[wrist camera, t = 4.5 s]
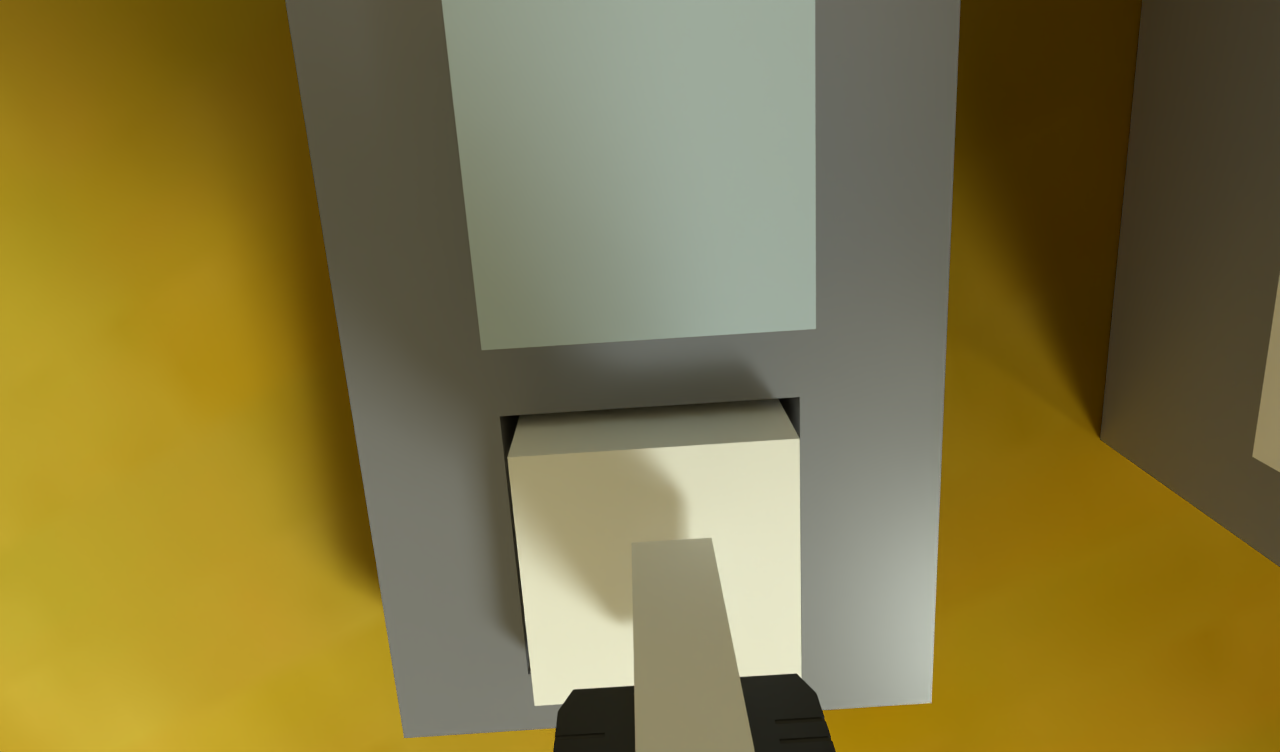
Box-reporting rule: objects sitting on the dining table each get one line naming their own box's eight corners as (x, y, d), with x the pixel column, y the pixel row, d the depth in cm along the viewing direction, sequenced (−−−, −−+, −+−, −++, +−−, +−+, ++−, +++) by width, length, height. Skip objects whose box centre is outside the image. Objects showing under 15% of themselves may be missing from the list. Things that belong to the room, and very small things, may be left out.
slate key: (775, 281, 19) (815, 329, 15) (508, 298, 19) (481, 349, 15) (770, -6, 17) (815, -35, 13) (479, 11, 17) (440, -12, 13)
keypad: (1121, 592, 25) (1564, 1025, 13) (437, 637, 24) (280, 1114, 13) (1250, -575, 17) (2505, -1904, 6) (271, -520, 17) (-425, -1765, 6)
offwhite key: (770, 587, 23) (801, 688, 19) (548, 602, 23) (534, 705, 19) (766, 376, 21) (799, 438, 17) (526, 391, 21) (507, 457, 17)
